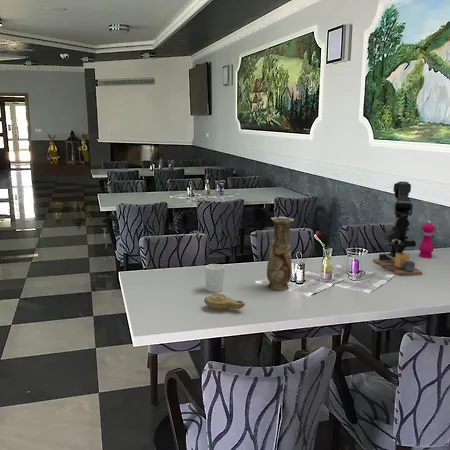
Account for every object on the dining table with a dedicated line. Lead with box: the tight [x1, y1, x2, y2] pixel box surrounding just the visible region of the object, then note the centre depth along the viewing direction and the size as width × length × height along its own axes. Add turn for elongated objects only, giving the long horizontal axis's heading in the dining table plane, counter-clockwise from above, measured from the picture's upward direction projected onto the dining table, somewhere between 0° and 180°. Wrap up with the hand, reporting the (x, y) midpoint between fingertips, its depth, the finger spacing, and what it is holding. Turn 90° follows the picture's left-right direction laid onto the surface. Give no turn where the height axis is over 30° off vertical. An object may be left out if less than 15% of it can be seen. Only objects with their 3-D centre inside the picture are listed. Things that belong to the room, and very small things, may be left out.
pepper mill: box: [418, 220, 435, 259], centre depth 262 cm, size 7×7×20 cm
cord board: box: [372, 252, 423, 277], centre depth 239 cm, size 24×12×6 cm, turn 13°
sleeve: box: [395, 251, 410, 268], centre depth 235 cm, size 4×5×6 cm
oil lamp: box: [203, 293, 246, 312], centre depth 180 cm, size 11×14×5 cm
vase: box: [266, 215, 295, 291], centre depth 204 cm, size 10×11×30 cm
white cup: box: [204, 263, 225, 293], centre depth 201 cm, size 8×8×10 cm
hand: (398, 256), depth 238 cm, fingers closed
